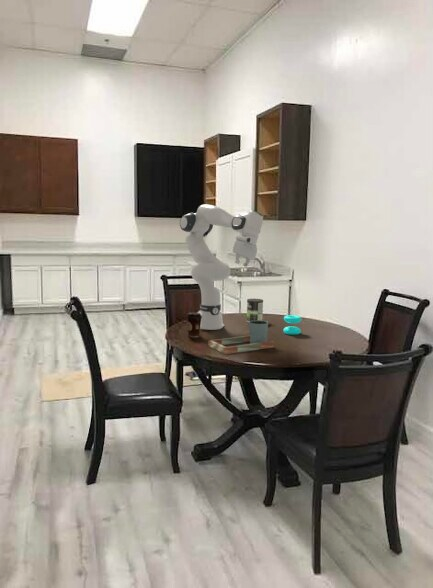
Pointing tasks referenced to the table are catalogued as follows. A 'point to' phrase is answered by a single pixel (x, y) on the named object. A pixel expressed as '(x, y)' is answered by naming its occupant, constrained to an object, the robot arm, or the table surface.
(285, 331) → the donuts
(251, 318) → the coffee can
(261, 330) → the grey-blue cylinder
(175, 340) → the table surface
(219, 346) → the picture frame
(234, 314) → the table surface
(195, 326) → the coffee cup
